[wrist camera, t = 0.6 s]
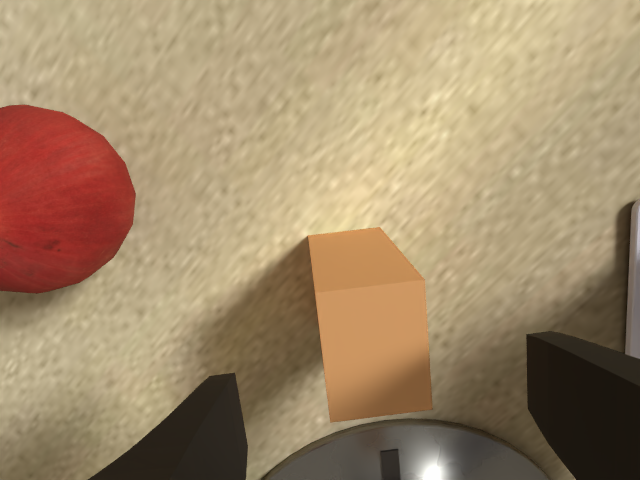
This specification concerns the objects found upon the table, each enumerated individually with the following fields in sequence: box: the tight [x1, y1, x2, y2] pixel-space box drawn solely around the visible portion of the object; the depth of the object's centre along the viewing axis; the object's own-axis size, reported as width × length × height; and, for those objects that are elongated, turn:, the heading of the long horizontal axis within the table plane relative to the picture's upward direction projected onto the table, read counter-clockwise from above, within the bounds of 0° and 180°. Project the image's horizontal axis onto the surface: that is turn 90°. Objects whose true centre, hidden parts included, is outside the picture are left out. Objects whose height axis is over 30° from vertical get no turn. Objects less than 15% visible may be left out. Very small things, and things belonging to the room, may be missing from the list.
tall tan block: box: [308, 227, 432, 423], centre depth 17 cm, size 3×4×7 cm
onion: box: [0, 105, 136, 293], centre depth 15 cm, size 6×6×8 cm
